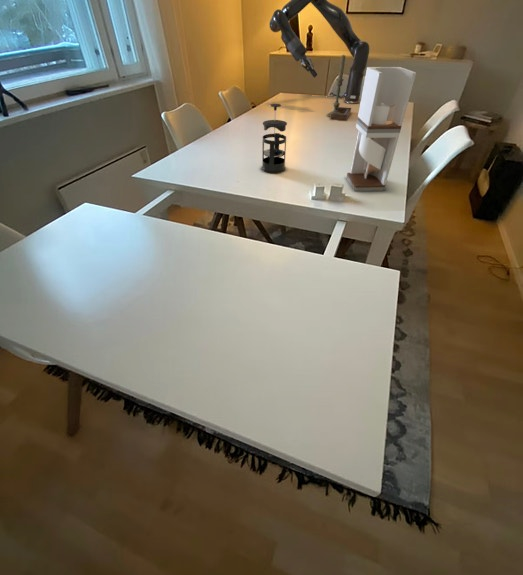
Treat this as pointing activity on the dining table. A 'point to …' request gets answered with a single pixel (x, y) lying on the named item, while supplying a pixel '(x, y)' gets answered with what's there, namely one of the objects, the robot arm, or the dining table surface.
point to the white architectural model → (379, 125)
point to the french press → (274, 146)
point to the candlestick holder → (339, 83)
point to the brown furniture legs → (342, 116)
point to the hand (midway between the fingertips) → (315, 76)
